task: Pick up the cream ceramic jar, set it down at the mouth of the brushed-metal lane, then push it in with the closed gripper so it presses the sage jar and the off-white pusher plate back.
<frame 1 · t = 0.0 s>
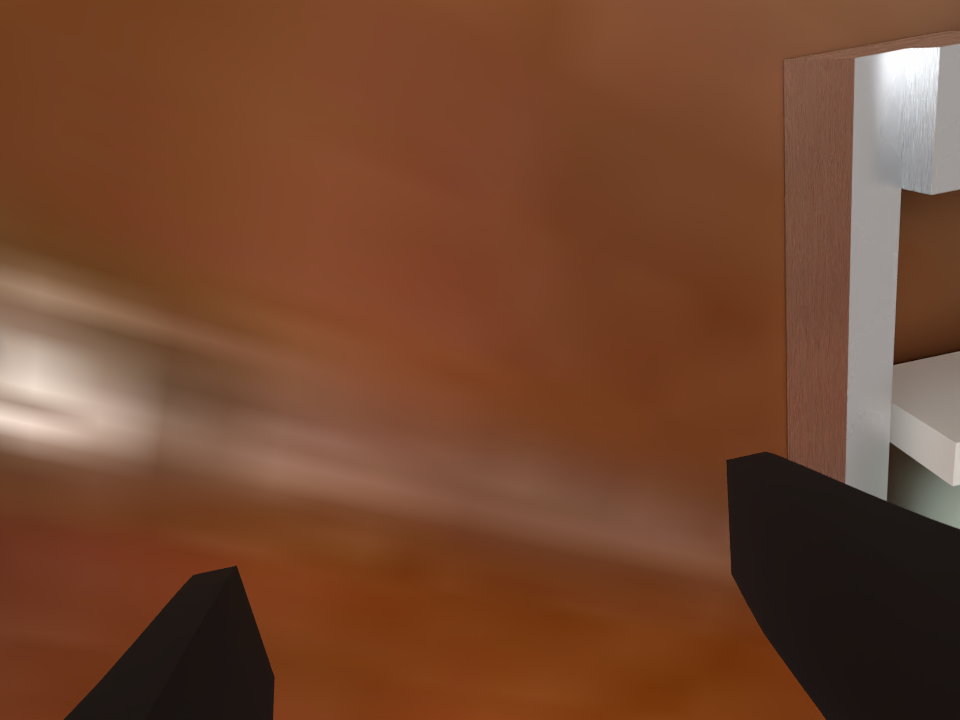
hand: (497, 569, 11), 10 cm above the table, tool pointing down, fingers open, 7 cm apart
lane: (952, 350, 23), on the table
sage jar: (942, 468, 24), on the table
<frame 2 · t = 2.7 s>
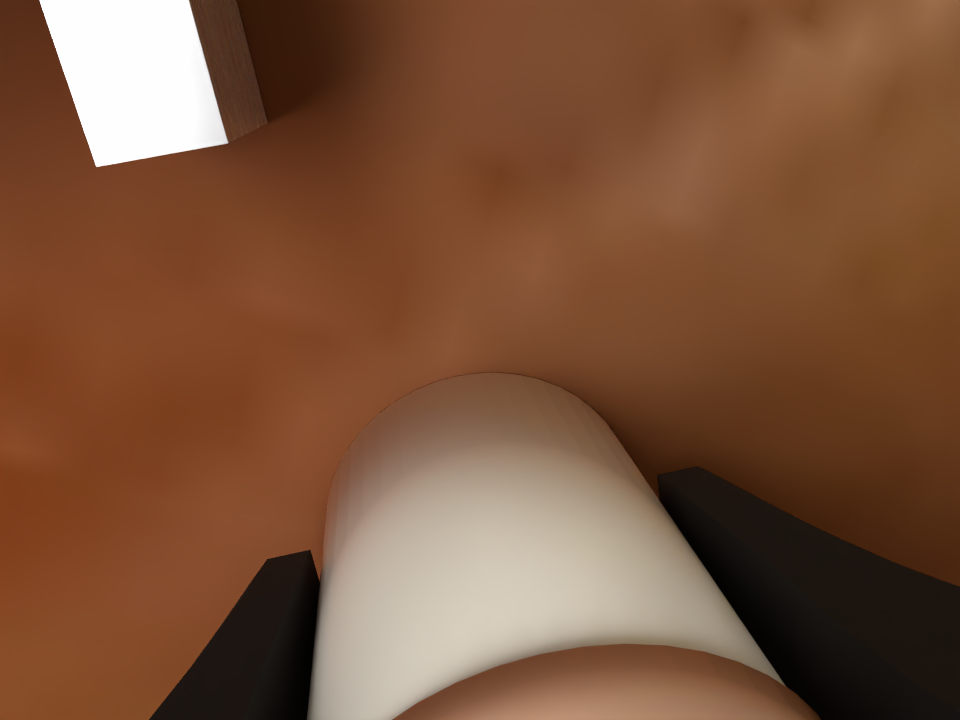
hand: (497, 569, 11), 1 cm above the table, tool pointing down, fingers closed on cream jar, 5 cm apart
cream jar: (483, 516, 12), on the table, touching gripper
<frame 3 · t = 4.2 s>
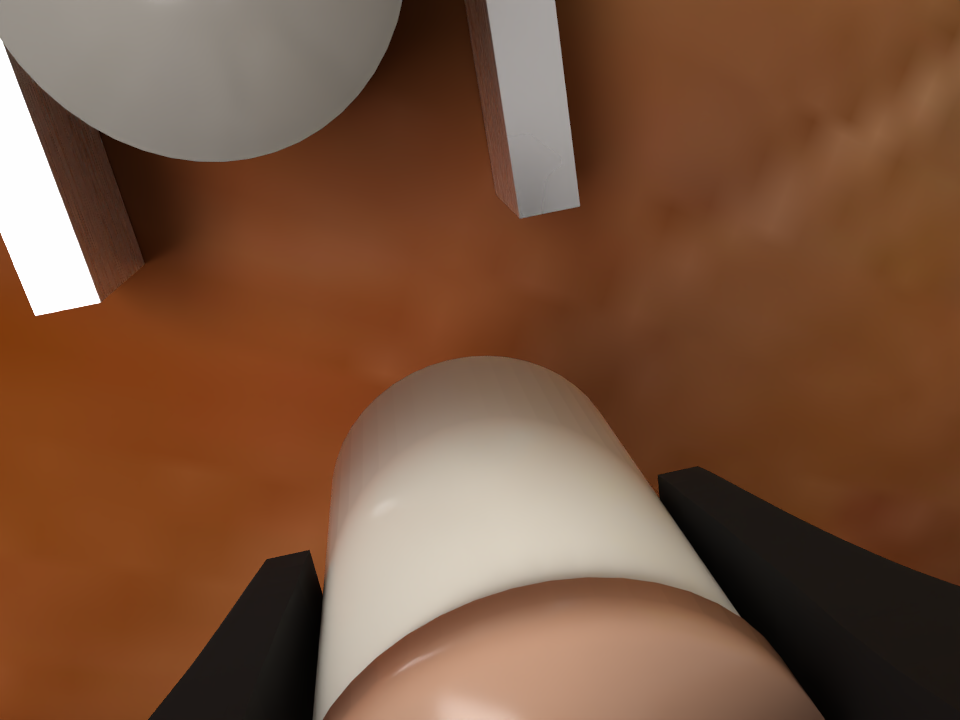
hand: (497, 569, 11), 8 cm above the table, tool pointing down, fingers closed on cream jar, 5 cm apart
cream jar: (478, 491, 13), point 6 cm above the table, touching gripper
when the fingers open (3 cm above the table, at t = 5.9 s): cream jar stays where it is, on the table.
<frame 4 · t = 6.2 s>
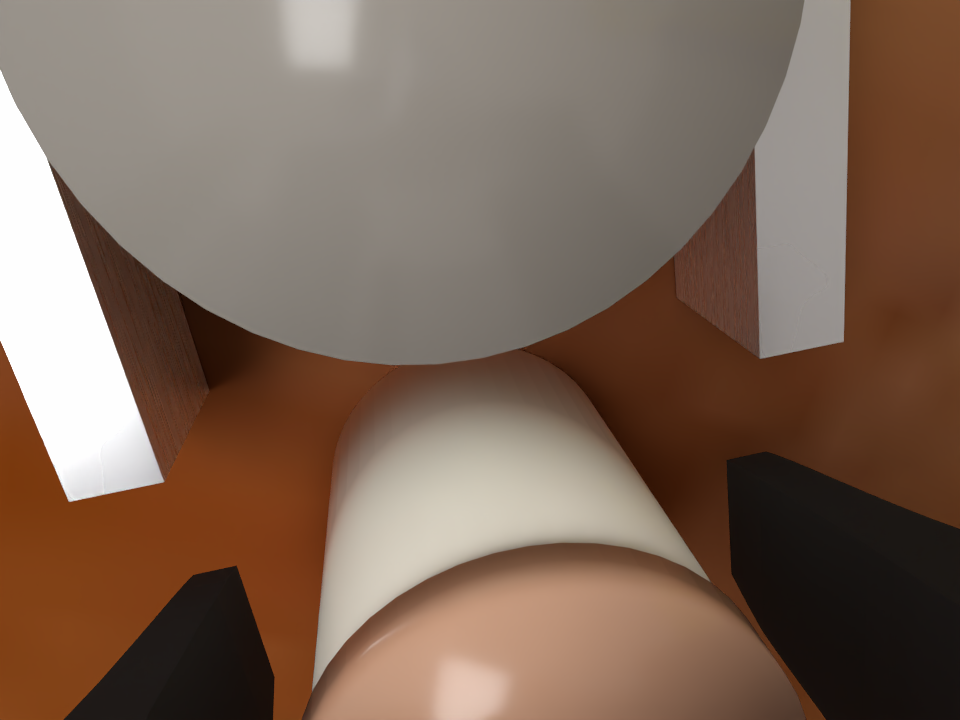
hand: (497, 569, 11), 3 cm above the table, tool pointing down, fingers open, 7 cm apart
cream jar: (472, 474, 14), on the table
sage jar: (388, 29, 11), on the table
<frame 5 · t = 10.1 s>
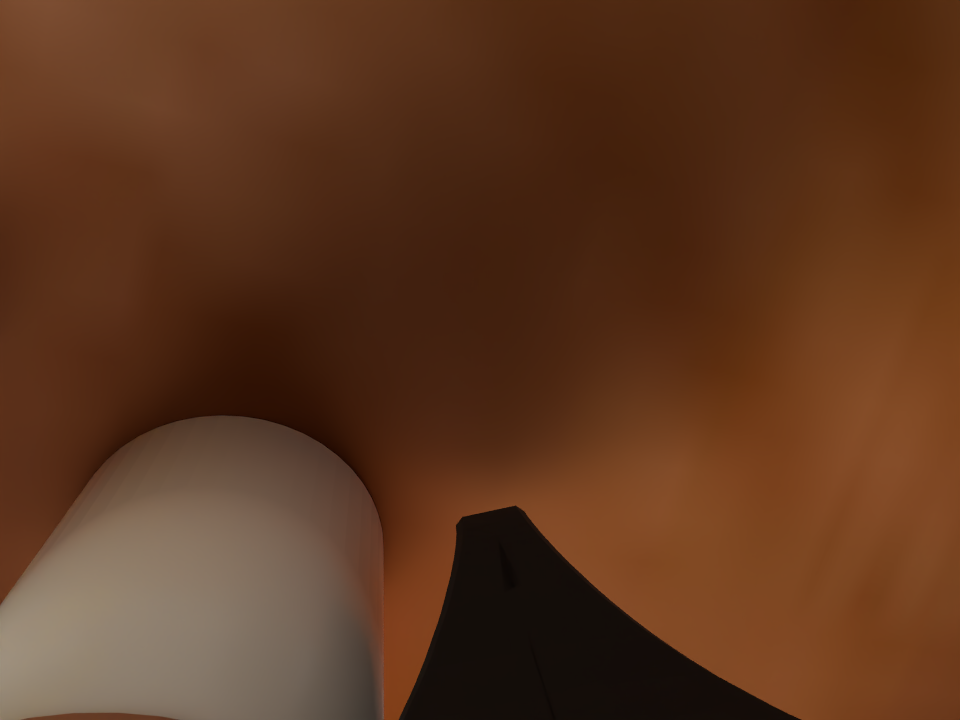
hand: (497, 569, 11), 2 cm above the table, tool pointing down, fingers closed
cream jar: (232, 552, 13), on the table, touching gripper
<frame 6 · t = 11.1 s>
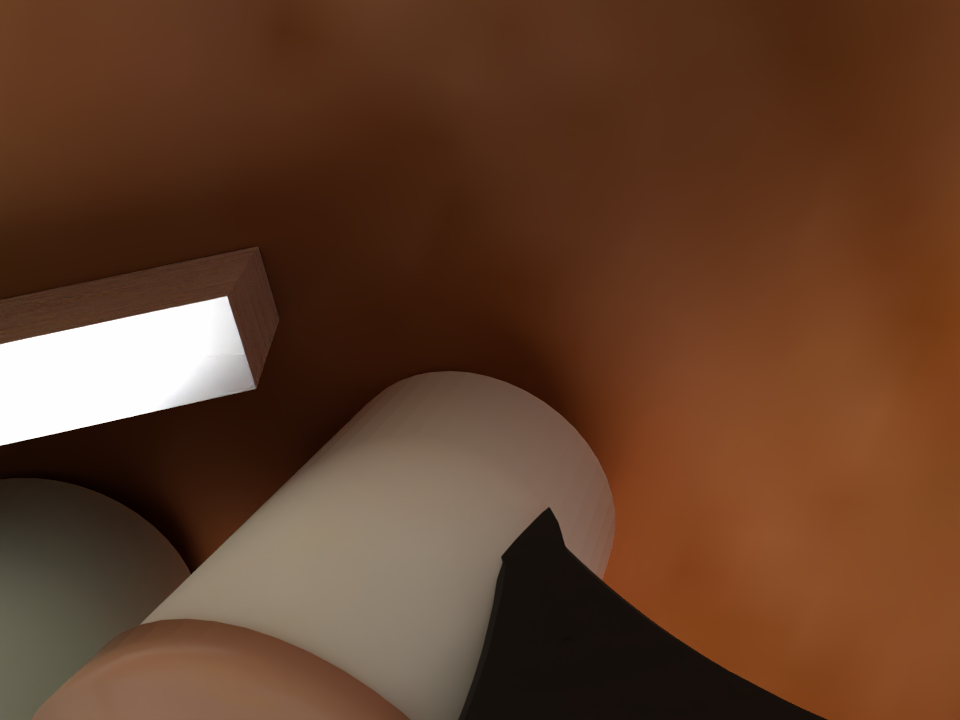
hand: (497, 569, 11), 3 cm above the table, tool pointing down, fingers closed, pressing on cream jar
cream jar: (472, 501, 13), on the table, tilted 28°, touching gripper, sage jar
sage jar: (53, 606, 13), on the table, tilted 8°, touching cream jar, pusher
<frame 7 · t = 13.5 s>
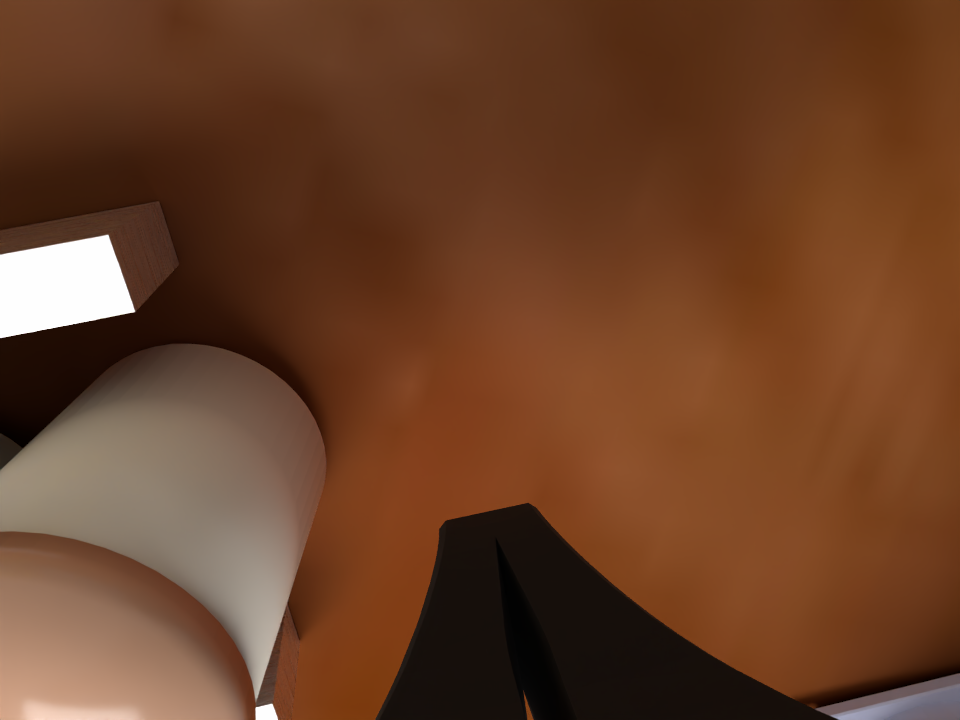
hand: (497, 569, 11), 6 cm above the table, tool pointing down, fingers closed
cream jar: (202, 457, 15), on the table, tilted 8°, touching sage jar
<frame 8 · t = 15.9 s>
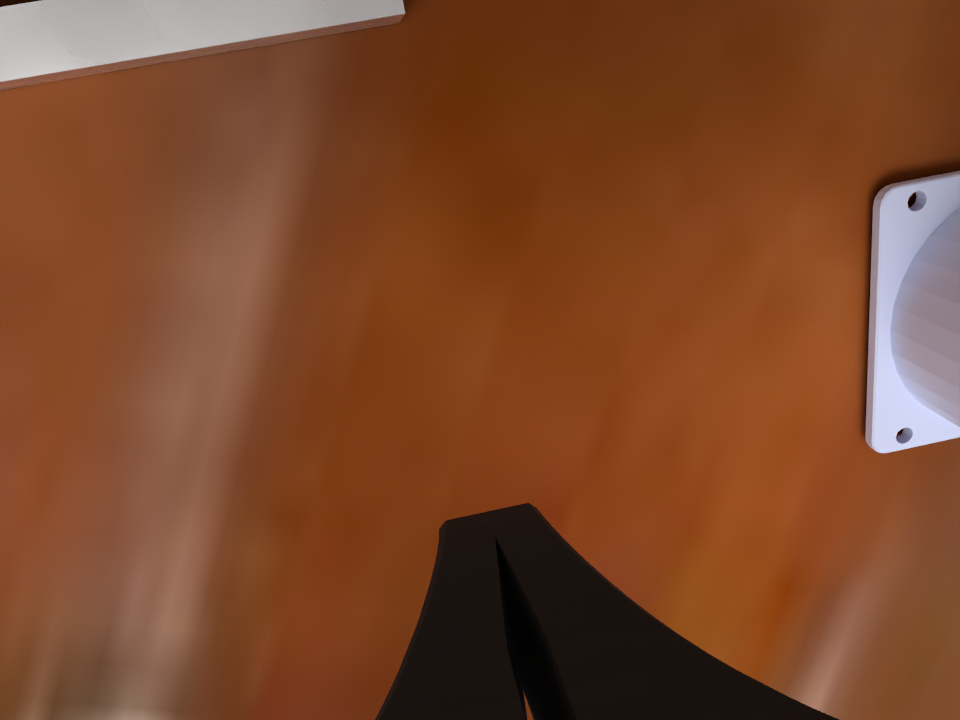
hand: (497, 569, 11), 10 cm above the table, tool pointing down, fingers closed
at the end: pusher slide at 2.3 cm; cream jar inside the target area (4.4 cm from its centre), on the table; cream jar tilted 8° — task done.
